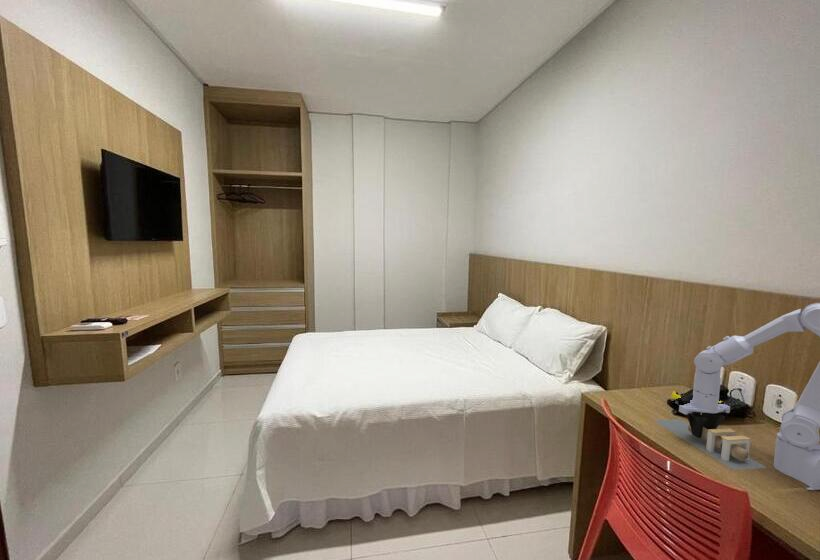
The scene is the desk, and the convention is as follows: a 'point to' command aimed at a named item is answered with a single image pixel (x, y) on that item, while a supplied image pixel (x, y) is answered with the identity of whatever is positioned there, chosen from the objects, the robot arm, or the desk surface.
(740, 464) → the peg gate board
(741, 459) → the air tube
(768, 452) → the desk surface
